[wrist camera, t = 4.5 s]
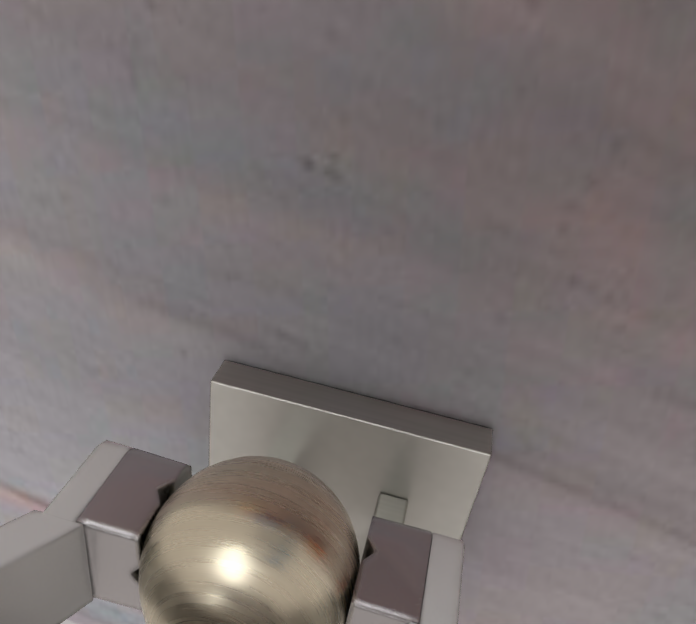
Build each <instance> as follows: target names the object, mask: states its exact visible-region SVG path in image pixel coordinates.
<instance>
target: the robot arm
mask: <svg viewBox="0 0 696 624" xmlns="http://www.w3.org/2000/svg"><path fill="white" fill-rule="evenodd" d="M191 477H192V475H191V466H189V465H187V464H184V463H181V462H177V461H174V460H171V459H168V458H165V457H161V456H158V455H155V454H152V453H149V452H145V451H142V450H139V449H136V448H132V447H129V446H125V445H122V444H118V443H115V442H112V441H108V440H106V441H104V442H103V443H101V444H100V445H98V446H97V447H96V448H95V449H94V450H93V452H92V453H91V454H90V455H89V456H88V458H87V459H86V460H85V461H84V463H83V464H82V465H81V466H80V468H79V469H78V470H77V471H76V472H75V474H74V475H73V476H72V477H71V479H70V480H69V481H68V482H67V483H66V485H65V486H64V487H63V488H62V490H61V491H60V492H59V493H58V494H57V496H56V497H55V498H54V499H53V501H52V502H51V503H50V504H49V506H48V507H47V508H46V509H45V510H44V512H41V511H37V510H34V511H31V512H29V513H27V514H25V515H23V516H21V517H19V518H17V519H14V520H12V521H10V522H8V523H6V524H4V525H2V526H0V624H60V623H62V622H63V621H65V620H66V619H67V618H69V617H70V616H72V615H73V614H75V613H76V612H77V611H79V610H80V609H82V608H83V607H84V606H86V605H87V604H89V603H90V602H92V601H93V597H95V598H99V599H102V600H106V601H109V602H113V603H116V604H120V605H123V606H127V607H131V608H134V609H138V610H141V611H142V608H141V603H140V595H139V585H138V581H139V564H140V558H141V554H142V549H143V546H144V542H145V539H146V536H147V534H148V531H149V529H150V527H151V525H152V523H153V521H154V519H155V517H156V515H157V514H158V512H159V510H160V509H161V507H162V506H163V505H164V504H165V502H166V501H167V500H168V498H169V497H170V496H171V495H172V493H173V492H174V491H176V490H177V489H178V488H179V487H180V486H181V485H182V484H183V483H184V482H185V481H187V480H188V479H189V478H191ZM463 558H464V544H463V541H462V540H458V539H455V538H451V537H448V536H444V535H441V534H437V533H434V532H433V533H431V531H429V530H425V529H421V528H417V527H414V526H410V525H406V524H402V523H399V522H395V521H391V520H387V519H384V518H380V517H376V516H372V520H371V524H370V528H369V532H368V536H367V539H366V543H365V547H364V551H363V555H362V559H361V563H360V567H359V572H358V576H357V580H356V584H355V588H354V592H353V596H352V600H351V604H350V608H349V612H348V616H347V620H346V624H458V615H459V604H460V592H461V581H462V570H463Z"/></svg>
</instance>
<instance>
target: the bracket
mask: <svg viewBox="0 0 696 624" xmlns="http://www.w3.org/2000/svg"><path fill="white" fill-rule="evenodd" d="M492 435H493V430H492V429H489V428H486V427H482V426H478V425H474V424H470V423H466V422H462V421H458V420H455V419H451V418H447V417H443V416H439V415H435V414H431V413H428V412H424V411H420V410H416V409H412V408H408V407H404V406H401V405H397V404H393V403H389V402H385V401H381V400H377V399H374V398H370V397H366V396H362V395H358V394H354V393H350V392H347V391H343V390H339V389H335V388H331V387H327V386H323V385H320V384H316V383H312V382H308V381H304V380H300V379H296V378H292V377H289V376H285V375H281V374H277V373H273V372H269V371H265V370H262V369H258V368H254V367H250V366H246V365H242V364H238V363H235V362H231V361H227V360H225V361H224V362H223V364H222V365H221V367H220V368H219V369H218V371H217V372H216V374H215V375H214V377H213V378H212V380H211V391H210V434H209V466H212V465H214V464H216V463H219V462H221V461H224V460H228V459H233V458H238V457H244V456H265V457H274V458H278V459H283V460H286V461H289V462H292V463H294V464H297V465H299V466H301V467H303V468H305V469H306V470H308V471H310V472H311V473H313V474H314V475H316V476H317V477H318V478H319V479H320V480H322V481H323V482H324V483H325V484H326V485H327V486H328V487H329V488H330V489H331V490H332V491H333V492H334V493H335V495H336V496H337V497H338V499H339V500H340V501H341V503H342V505H343V506H344V508H345V510H346V512H347V513H348V515H349V517H350V520H351V523H352V525H353V528H354V531H355V534H356V538H357V542H358V548H359V554H360V563H361V559H362V555H363V551H364V547H365V543H366V539H367V536H368V532H369V528H370V524H371V520H372V516H376V517H380V518H384V519H387V520H391V521H395V522H399V523H402V524H406V525H410V526H414V527H417V528H421V529H425V530H429V531H431V533H433V532H434V533H437V534H441V535H444V536H448V537H451V538H455V539H458V540H461V537H462V534H463V532H464V529H465V526H466V523H467V521H468V518H469V515H470V512H471V510H472V507H473V504H474V501H475V499H476V496H477V493H478V490H479V488H480V485H481V482H482V479H483V477H484V474H485V471H486V468H487V466H488V463H489V460H490V457H491V452H492Z"/></svg>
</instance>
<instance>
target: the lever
mask: <svg viewBox="0 0 696 624" xmlns="http://www.w3.org/2000/svg"><path fill="white" fill-rule="evenodd" d="M359 567H360V554H359V548H358V542H357V538H356V534H355V531H354V528H353V525H352V523H351V520H350V517H349V515H348V513H347V512H346V510H345V508H344V506H343V505H342V503H341V501H340V500H339V499H338V497H337V496H336V495H335V493H334V492H333V491H332V490H331V489H330V488H329V487H328V486H327V485H326V484H325V483H324V482H323V481H322V480H320V479H319V478H318V477H317V476H316V475H314V474H313V473H311V472H310V471H308V470H306V469H305V468H303V467H301V466H299V465H297V464H294V463H292V462H289V461H286V460H283V459H278V458H274V457H265V456H244V457H238V458H233V459H228V460H224V461H221V462H219V463H216V464H214V465H212V466H209V467H207V468H205V469H203V470H202V471H200V472H198V473H197V474H195V475H194V476H192V477H191V478H189V479H188V480H187V481H185V482H184V483H183V484H182V485H181V486H180V487H179V488H178V489H177V490H176V491H174V492H173V493H172V495H171V496H170V497H169V498H168V500H167V501H166V502H165V504H164V505H163V506H162V507H161V509H160V510H159V512H158V514H157V515H156V517H155V519H154V521H153V523H152V525H151V527H150V529H149V531H148V534H147V536H146V539H145V542H144V546H143V549H142V554H141V558H140V564H139V581H138V585H139V595H140V603H141V608H142V611H143V615H144V618H145V622H146V624H346V620H347V616H348V612H349V608H350V604H351V600H352V596H353V592H354V588H355V584H356V580H357V576H358V572H359Z"/></svg>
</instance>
